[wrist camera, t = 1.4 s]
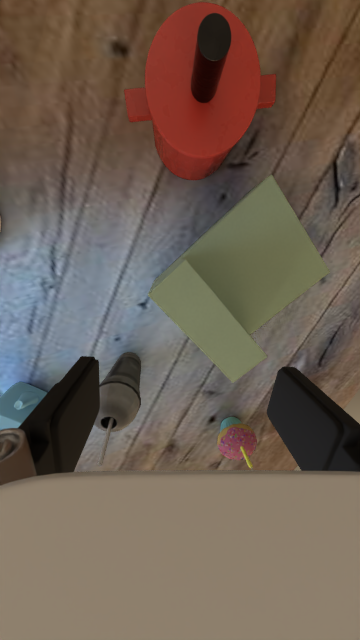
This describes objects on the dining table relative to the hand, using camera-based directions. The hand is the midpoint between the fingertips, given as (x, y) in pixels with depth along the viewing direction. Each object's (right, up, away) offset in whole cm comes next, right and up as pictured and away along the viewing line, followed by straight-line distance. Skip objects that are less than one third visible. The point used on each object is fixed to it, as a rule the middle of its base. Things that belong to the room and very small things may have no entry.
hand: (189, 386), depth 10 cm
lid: (+2, +28, +11) cm, 30 cm away
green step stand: (+9, +12, +26) cm, 30 cm away
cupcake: (+12, -21, +37) cm, 45 cm away
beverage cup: (-11, -5, +30) cm, 33 cm away
